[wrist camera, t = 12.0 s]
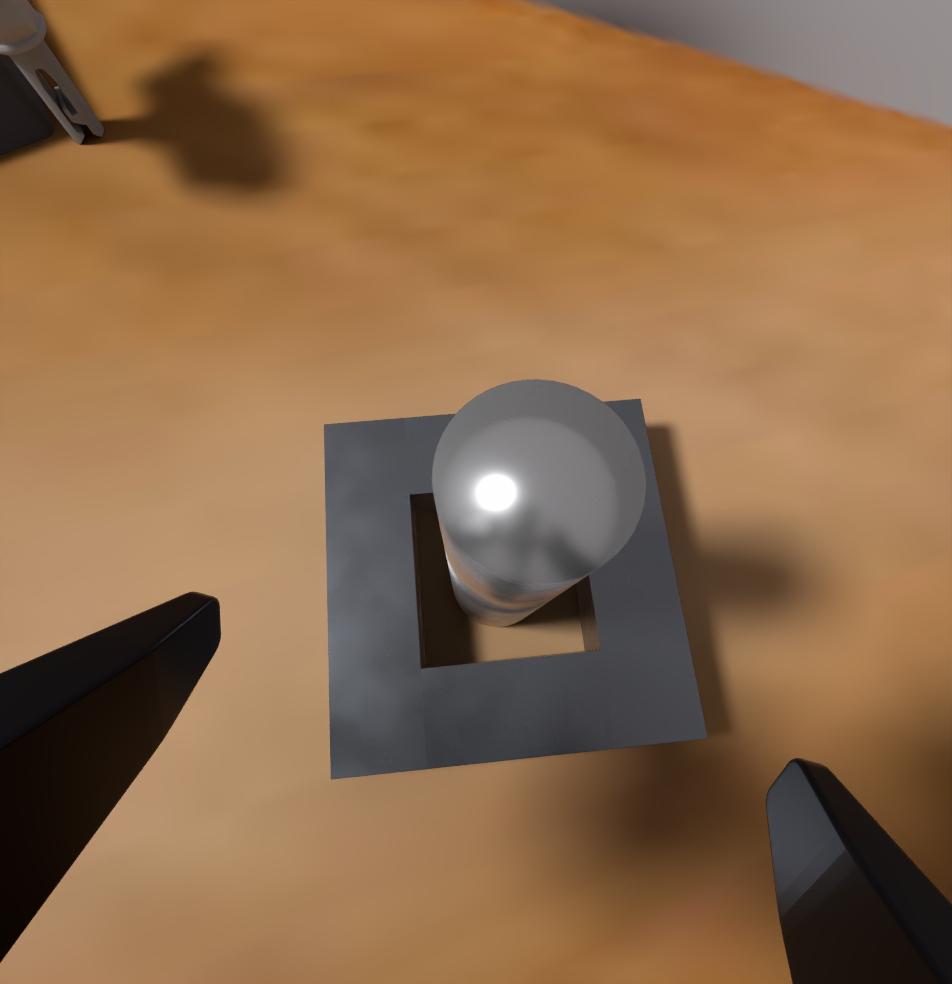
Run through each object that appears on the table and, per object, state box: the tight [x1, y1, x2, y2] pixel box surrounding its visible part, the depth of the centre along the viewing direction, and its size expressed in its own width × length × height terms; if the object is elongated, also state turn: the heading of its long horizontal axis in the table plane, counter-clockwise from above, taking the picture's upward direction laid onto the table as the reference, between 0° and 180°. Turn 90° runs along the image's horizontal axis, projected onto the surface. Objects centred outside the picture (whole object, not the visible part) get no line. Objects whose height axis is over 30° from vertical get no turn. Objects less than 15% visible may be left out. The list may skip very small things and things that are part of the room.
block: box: [324, 399, 708, 779], centre depth 20 cm, size 12×12×2 cm
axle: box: [432, 380, 646, 627], centre depth 15 cm, size 4×4×13 cm
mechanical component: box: [0, 0, 104, 144], centre depth 23 cm, size 3×10×10 cm, turn 27°
